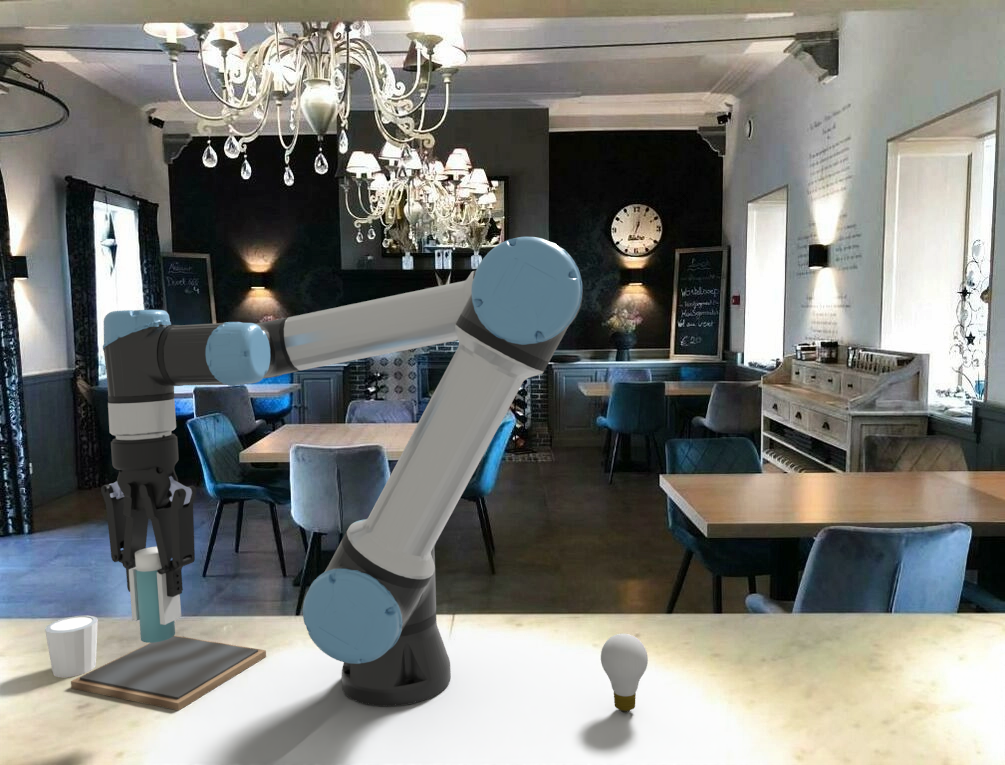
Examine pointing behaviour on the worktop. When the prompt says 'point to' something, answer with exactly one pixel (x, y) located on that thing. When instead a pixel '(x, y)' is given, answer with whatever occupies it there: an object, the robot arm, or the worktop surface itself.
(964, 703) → the worktop surface
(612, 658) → the light bulb
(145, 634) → the teal bottle
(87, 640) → the white tapered cup
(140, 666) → the slate board
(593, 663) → the worktop surface
